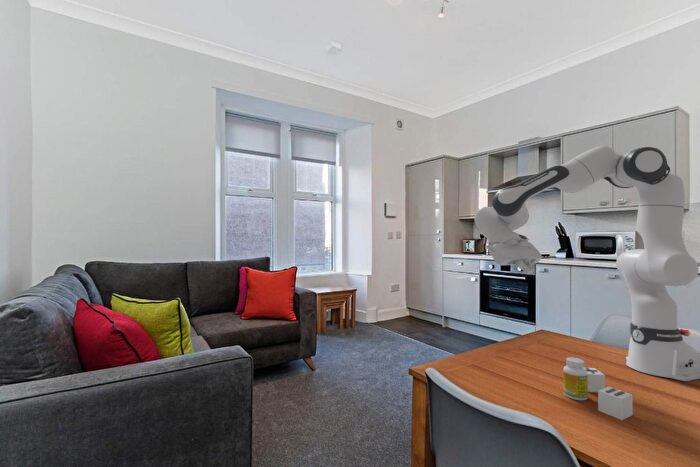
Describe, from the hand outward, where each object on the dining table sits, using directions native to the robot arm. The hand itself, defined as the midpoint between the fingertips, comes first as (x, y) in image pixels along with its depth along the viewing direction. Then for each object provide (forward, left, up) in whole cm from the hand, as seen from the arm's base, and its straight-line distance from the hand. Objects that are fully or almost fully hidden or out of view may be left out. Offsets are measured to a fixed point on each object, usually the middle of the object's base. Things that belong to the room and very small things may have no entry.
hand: (530, 272), depth 113 cm
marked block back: (-6, +17, -31) cm, 36 cm away
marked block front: (-1, +30, -31) cm, 44 cm away
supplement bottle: (+2, +21, -32) cm, 38 cm away
